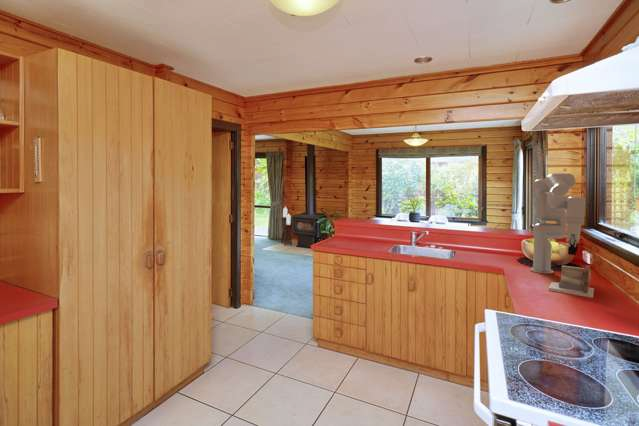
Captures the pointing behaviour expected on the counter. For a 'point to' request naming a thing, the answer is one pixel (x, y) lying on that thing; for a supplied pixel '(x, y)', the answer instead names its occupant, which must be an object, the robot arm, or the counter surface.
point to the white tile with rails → (571, 289)
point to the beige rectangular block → (571, 275)
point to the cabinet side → (585, 279)
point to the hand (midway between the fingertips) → (572, 253)
